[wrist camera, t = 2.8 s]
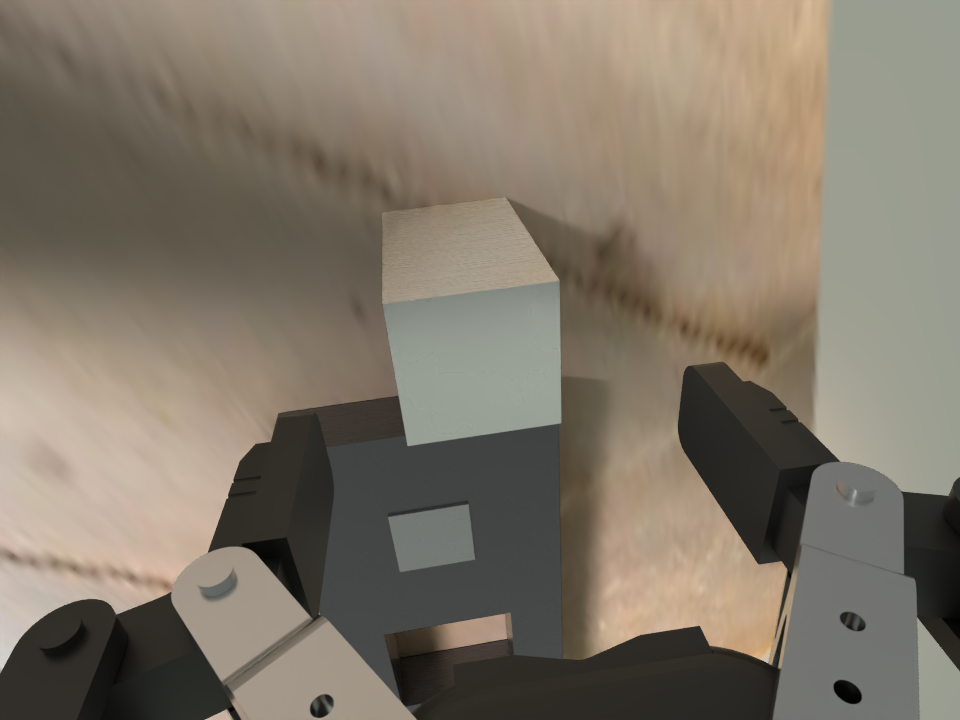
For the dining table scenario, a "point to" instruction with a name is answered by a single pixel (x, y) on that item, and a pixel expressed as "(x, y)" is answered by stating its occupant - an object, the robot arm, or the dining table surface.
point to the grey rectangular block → (470, 321)
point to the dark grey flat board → (439, 541)
